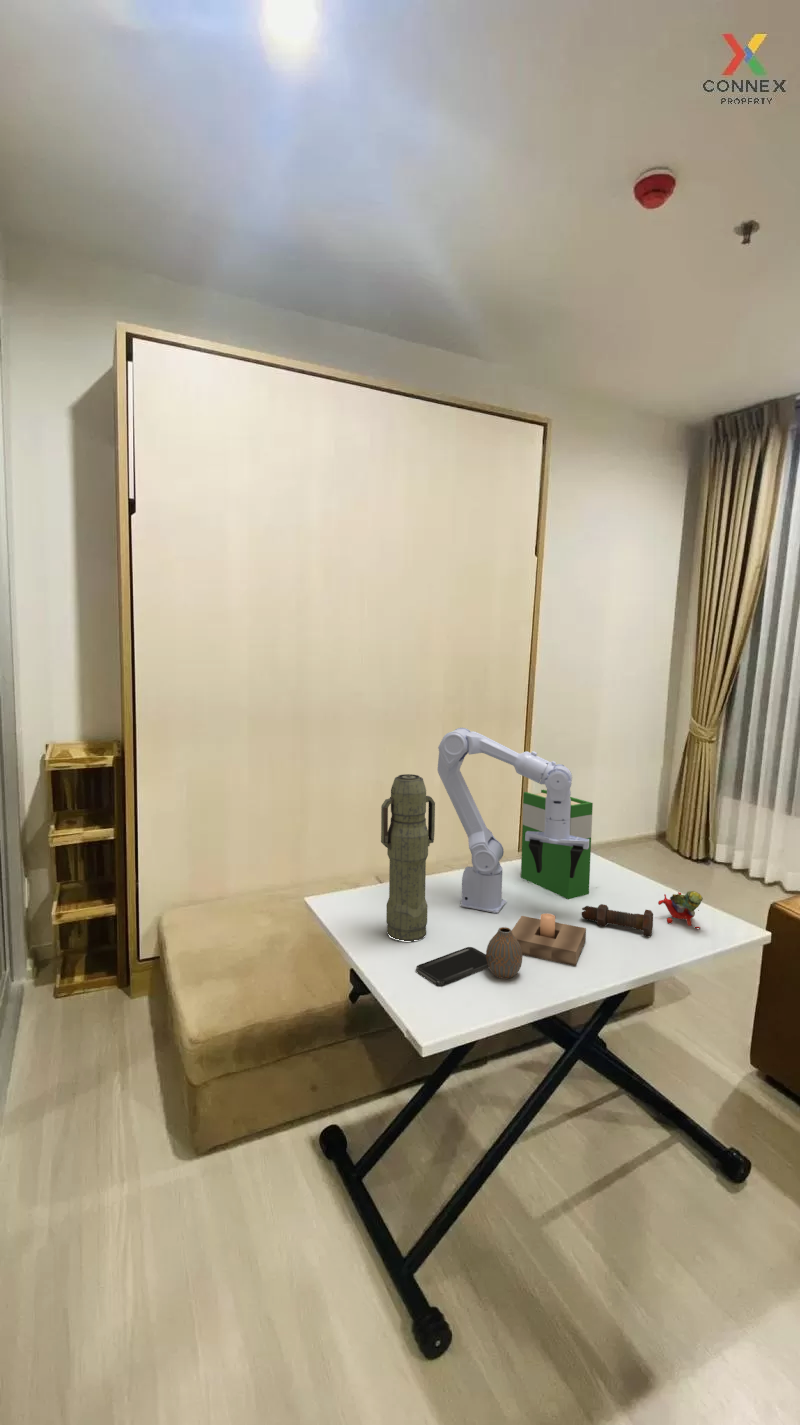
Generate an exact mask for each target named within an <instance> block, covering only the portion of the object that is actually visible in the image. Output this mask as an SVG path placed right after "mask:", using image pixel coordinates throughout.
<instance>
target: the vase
mask: <svg viewBox="0 0 800 1425" xmlns="http://www.w3.org/2000/svg"><path fill="white" fill-rule="evenodd" d="M485 954H486V960H487V964H488V967H489V968H488V970H490V972H491V973H492V974H493V975H494V977H495V976H496V978H499V979H505V980H506V979H507V980H508V979H511V978H513V977H515V976H516V975H517V974H518V973H519V972H520V970H521V967H522V964H523V956H524V955H522V949H521V946H520V944H519V942H518V941H517V939H516V938H515V937H514V935H513V933H512V929H511V928H509V927H506V926H505V927H504V926H503V927H499V928H498V930H497V932H496V933H495V934H494V936H492V938H491V939H490V940H489V942H488V943H487V947H486V951H485Z"/></svg>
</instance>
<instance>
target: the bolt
mask: <svg viewBox="0 0 800 1425" xmlns="http://www.w3.org/2000/svg"><path fill="white" fill-rule="evenodd" d="M581 909H582V912H581V917H582V918H583V920H585V921H591V922H596V924H597V926H599V927H604V928H605V927H607V925H608V924H609V925H613V926H619V927H624V928H630V929H634V930H637V931H638V930H639V931H642V935H643V936H644V937H648V936H650V937H651V936H652V934H653V929H654V914H653V911H652V910H651V909H645V910H644V911H643V914H641V913H631V912H626V911H621V910H620V911H619V910H612V909H609V906H608V905H607V904H602V903H601V904H599V905H598V906H597V907H595V906H589V905H586V906H584V907H582V908H581Z"/></svg>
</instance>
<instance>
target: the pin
mask: <svg viewBox="0 0 800 1425" xmlns="http://www.w3.org/2000/svg"><path fill="white" fill-rule="evenodd" d="M540 919H541V920H540V936H543V937H548V938H553V939H555V922H556V916H555V915H554V914H552V913H542V914H540Z"/></svg>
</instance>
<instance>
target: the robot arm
mask: <svg viewBox="0 0 800 1425" xmlns="http://www.w3.org/2000/svg"><path fill="white" fill-rule="evenodd" d="M437 749H438V761H437V773H438V776H439V778H440V779H441V782H442V784H443V786H444V789H445V791H446V793H447V795H448V797H449V799H450V801H451V804H452V806H453V808H454V810H455V812H456V814H457V816H458V818H459V821H460V823H461V825H462V827H463V829H464V831H465V834H466V837H467V839H468V840H467V841H468V849H469V851H470V855H471V865H472V866H466V867H465V868H464V870H463V873H462V877H461V903H460V904H459V905H460V907H463V908H468V909H472V910H478V911H483V912H489V913H494V914H499V912H501V910H502V909H503V907H505V904H506V903H507V900H506V899H503V898H502V896H503V867H502V865H501V863H500V860H502V859H503V856H504V852H505V851H504V846H503V845H502V843H501V842H500V841H499V840H498V839H497V838H495V836H494V834H493V832H492V831H491V830H490V829H489V828H488V827H487V826H486V823H485V821H484V819H483V816H482V814H481V812H480V811H479V808H478V806H477V804H476V802H475V800H474V797H473V795H472V793H471V791H470V789H469V786H468V785H467V782H466V780H465V779H464V776H463V774H462V772H461V767H462V765H463V762H464V760H465V757H466V756H467V755H476V754H485V755H487V756H489V757H491V758H494V759H497V760H499V761H501V762H504V763H506V764H508V765H511V766H513V767H514V770H515V772H516V774H518V775H521V777H522V776H523V777H524V778H526V779H529V780H531V781H533V782H535V783H537V784H540V785H544V786H545V788H546V790H547V797H546V804H545V832H534V831H527V832H526V833H525V841H530V842H529V849H530V850H531V852H532V855H533V857H534V860H535V864H536V869H537V873H540V872H541V870H542V848H543V842H544V843H551V844H559V845H566V846H573V848H572V849H571V850H570V854H571V867H570V878H573V877H574V875H575V869H576V866H577V863H578V860H579V858H580V856H581V854H582V852H583V850H584V849H588V848H589V839H585V838H580V837H576V836H572V835H570V810H571V799H570V797H572V796H571V795H572V793H571V792H572V791H571V787H572V784H573V783H572V781H573V775H572V773H571V771H570V769H569V768H568V767H567V766H565V765H564V764H561V763H559V764H558V763H557V762H556V761H555V760H551V761H549V760H548V759H545V758H543V757H541V756H538V752H536V751H534V750H532V751H531V752H530V751H524V752H520V753H519V752H517V751H515V750H513V749H511V748H509V747H507V746H506V745H504V744H502V743H500V742H497V741H495V740H494V739H492V738H490V737H488V736H485V734H484V735H483V734H482V733H479V732H477V731H474V730H470V729H468V728H466V727H458V728H455V729H454V730H453V731H450V732H447V733H446V734H444V736H443V737H442V739H441V741H440V742H439V745H438V747H437Z"/></svg>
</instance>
